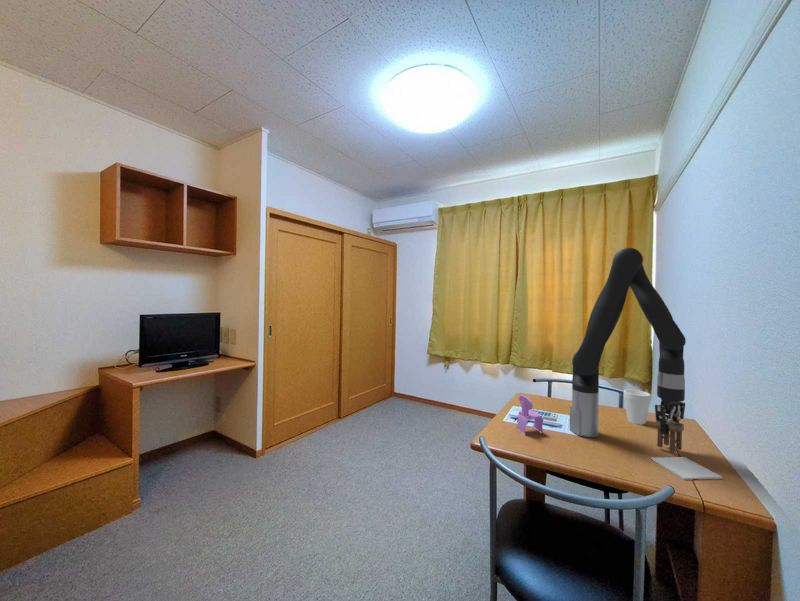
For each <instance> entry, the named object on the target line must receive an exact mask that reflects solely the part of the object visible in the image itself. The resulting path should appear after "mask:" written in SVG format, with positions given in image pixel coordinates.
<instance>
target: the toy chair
mask: <svg viewBox="0 0 800 601" xmlns="http://www.w3.org/2000/svg"><path fill="white" fill-rule="evenodd" d="M518 399H519V400H518V401H519V402H520V406H521V410H520V411H518V414H517V425H516V427H515V429H516V428H517V429H519V430H520V431H521V432H523V433H524V434H525V435H526V427H527V424H528V422H529V421H530V420H534V422H533V425H532V427H535V428H536V429H538V430H539V431H541V432H543V424H544V418H543V415H542V414H540V413H538V412H536V411H534V410H533V405H534V404H533V402H532V401H531V399H530V398H529V397H528V396H525V395H523V394H520V395H519V397H518ZM543 433H544V432H543Z"/></svg>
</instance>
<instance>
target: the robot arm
mask: <svg viewBox="0 0 800 601" xmlns="http://www.w3.org/2000/svg"><path fill="white" fill-rule="evenodd" d="M643 256H644V255H642V252H641V251H639V250H638V249H636V248H633V247H626V248H622V249H620V250H619V251H617V252H616V253H615V254H614V256H613V259H612V263H611V265H610V271H609V273H608V276H607V280H606V282H605V284H604V286H603V288H602V290H601V291H600V293H599V295H598V297H597V299H596V301H595V303H594V305H593V308H592V311H591V312H590V315H589V318H588V322H587V325H586V330H585V333H584V334H585V335H584V337H583V340H582V343H581V344H580V346H579V348H578V350H577V352H575V353H574V355H573V357H572V360H571V361H572V362H571V363H572V365H571V366H572V380H571V385H572V386H571V387H572V388H571V392H572V393H571V394H572V395H571V406H570V407H569V431H571V432H572V431H573V432H572V433H574V434H575V433H576V434H575V435H577V436H578V435H579V437H586V438H596V437H598V436H599V399H600V397H599V395H600V394H599V393H600V392H599V391H600V390H599V388H600V387H599V386H600V384H599V383H600V381H599V380H600V378H599V377H600V375H599V374H600V372H599V371H600V368H599V367H600V362H601V359H602V355H603V352H604V349H605V347H606V344H607V342H608V340H609V339H610V337H611V336H612V334H613V332H614V330H615V328H616V326H617V324H618V321H619V319H620V317H621V315H622V312H623V309H624V306H625V303H626V299H627V295H628V290H629V288H630V289H631V291H632V293H633V294H634V297H635V299H636V301H637V302H638V305H639V307H640V309H641V310H642V312H643V314H644V316H645V318H646V320H647V322H648V323H649V324H650V326H651V328H652V329H653V331H654V334H655V336H656V338H657V339H658V348H659V350H658V351H659V358H658V368H657V369H658V373H657V378H656V381H657V382H656V383H657V384H656V385H657V386H656V396H657V398H659V399H660V404H659V405H658V404H655V405H654V411H655V412H654V413H655V422H656V421H658V422H660V423H661V424H660V432H661V433H663V435H664V434H665V435H668V434H669V435H670V431H669V421H670V420H671V421H674V422H678V423H681V421H682V420H684V418H685V409H686V402H683V401H686V400H685V398H686V395H685V394H686V391H685V390H686V378H685V360H684V351H685V350H684V347H685V346H686V337H685V335H684V334H683V332H682V331H681V329H680V328H679V326H678V324H677V323H676V322H675V319H673V315H672V313H671V311H670V309H669V308H668V306H667V305H666V303H665V301H664V300H663V298H662V297H661V295H660V293H658V291H657V290H656V288H655V287H654V286H653V284H652V282H651V281H650V279H649V277H648V275H647V273H646V271H645V268H644V265H643V263H644V258H643Z"/></svg>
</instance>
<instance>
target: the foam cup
mask: <svg viewBox="0 0 800 601" xmlns="http://www.w3.org/2000/svg"><path fill="white" fill-rule="evenodd" d="M651 396H652V395H651V393H649V392H647V391H643V390H638V389H624V390H623V398H624V405H625V411H626V419H627V421H628V422H629V423H631V424H633V423H634V424H633V425H638V424H639V426H640V425H641V426H643V424H645V423H646V424H647V420H648V419H647V418H648V413H649V406H650V401H651V398H652V397H651ZM646 424H645V425H646Z"/></svg>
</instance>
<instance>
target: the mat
mask: <svg viewBox="0 0 800 601" xmlns="http://www.w3.org/2000/svg"><path fill="white" fill-rule="evenodd" d="M651 459H652V460H653V461H652V460H651ZM650 460H651V461H652V462H654V461H655V462H654V463H656V464H657V463H658V464H657V465H658V466H661V467H662V468H663V469H666V470H667V471H669V472H670V473H673V474H674V475H676V476H678V477H679V478H681V479H682V480H684V481H687V480H688V481H689V480H690V481H692V480H693V479H699V480H701V481H702V480H723V476H721V475H720V474H718V473H716V472H713V471H711V469H708V468H706V467H704V466H702V465H701V464H699V463H697V462H695V461H694V460H691V459H689V458H687V456H686V457H685V456H675V457H674V456H671V457H666V456H665V457H664V456H663V457H662V456H661V457H650ZM693 481H694V480H693Z"/></svg>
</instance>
